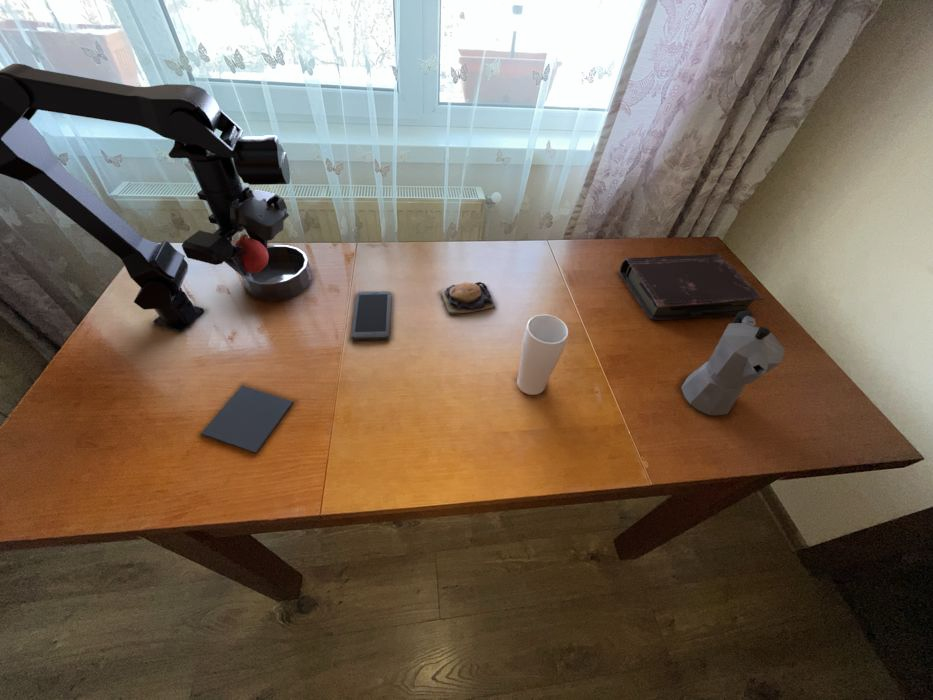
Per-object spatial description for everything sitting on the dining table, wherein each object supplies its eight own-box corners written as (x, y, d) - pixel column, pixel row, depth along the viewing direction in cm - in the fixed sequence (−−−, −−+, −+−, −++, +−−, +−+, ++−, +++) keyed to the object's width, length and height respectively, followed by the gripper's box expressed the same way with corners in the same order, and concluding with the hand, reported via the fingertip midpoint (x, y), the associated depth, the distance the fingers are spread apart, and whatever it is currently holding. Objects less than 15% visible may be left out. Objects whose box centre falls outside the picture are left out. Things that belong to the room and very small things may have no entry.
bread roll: (449, 317, 85) (449, 304, 82) (439, 291, 90) (439, 278, 87) (496, 309, 87) (498, 296, 84) (484, 284, 92) (485, 272, 90)
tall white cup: (551, 376, 76) (572, 320, 65) (544, 404, 72) (565, 349, 60) (517, 366, 77) (531, 309, 66) (508, 393, 73) (521, 336, 61)
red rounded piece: (263, 284, 73) (249, 247, 67) (234, 279, 73) (216, 241, 67) (279, 265, 77) (266, 228, 71) (250, 260, 77) (235, 223, 71)
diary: (617, 271, 99) (624, 254, 95) (707, 266, 103) (718, 250, 99) (651, 324, 87) (661, 307, 83) (752, 317, 91) (766, 301, 87)
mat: (201, 434, 64) (200, 433, 63) (243, 386, 70) (242, 385, 70) (256, 453, 62) (255, 452, 62) (293, 402, 69) (292, 401, 68)
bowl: (233, 291, 86) (224, 274, 82) (271, 256, 94) (265, 239, 91) (289, 307, 84) (283, 290, 80) (323, 269, 92) (319, 253, 89)
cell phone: (351, 340, 78) (350, 337, 78) (357, 293, 88) (356, 291, 87) (389, 339, 79) (389, 336, 79) (391, 293, 88) (390, 290, 88)
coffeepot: (736, 432, 70) (809, 369, 57) (681, 417, 72) (739, 351, 58) (726, 368, 80) (786, 301, 67) (678, 355, 82) (726, 287, 68)
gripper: (226, 224, 55) (262, 308, 67) (300, 168, 67) (319, 247, 79) (157, 208, 57) (204, 292, 68) (241, 156, 69) (268, 235, 80)
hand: (254, 265), depth 74 cm, fingers closed on red rounded piece, 6 cm apart
